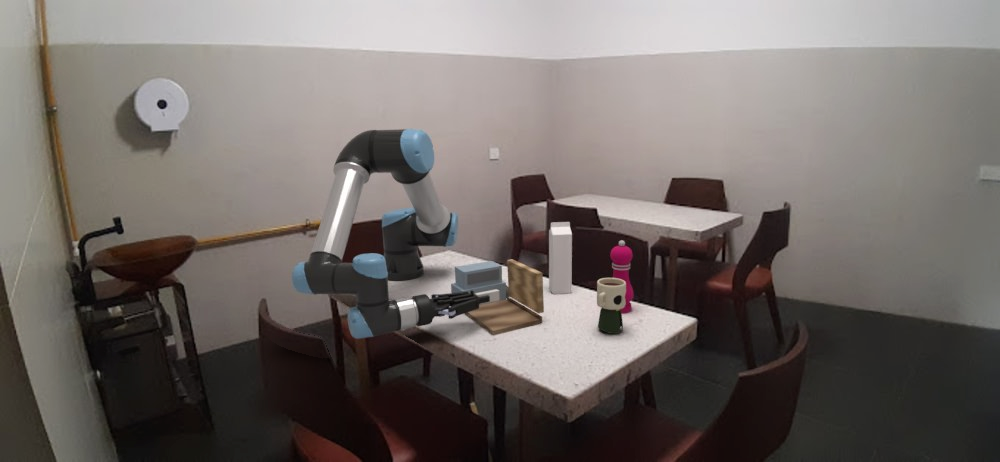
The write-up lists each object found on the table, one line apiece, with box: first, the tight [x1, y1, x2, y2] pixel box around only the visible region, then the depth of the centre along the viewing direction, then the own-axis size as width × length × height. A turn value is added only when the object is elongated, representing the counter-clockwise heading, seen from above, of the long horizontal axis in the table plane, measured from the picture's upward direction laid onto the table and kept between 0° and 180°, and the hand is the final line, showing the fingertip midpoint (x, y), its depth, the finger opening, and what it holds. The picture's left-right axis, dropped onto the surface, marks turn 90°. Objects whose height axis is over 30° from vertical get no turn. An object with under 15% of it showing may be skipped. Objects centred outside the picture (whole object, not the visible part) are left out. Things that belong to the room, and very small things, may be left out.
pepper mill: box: [609, 239, 634, 314], centre depth 143 cm, size 7×7×20 cm
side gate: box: [506, 258, 545, 314], centre depth 142 cm, size 16×2×11 cm, turn 29°
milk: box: [548, 221, 573, 295], centre depth 159 cm, size 6×6×22 cm
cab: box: [450, 260, 510, 305], centre depth 150 cm, size 8×19×12 cm, turn 119°
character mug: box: [596, 277, 626, 334], centre depth 129 cm, size 11×7×13 cm, turn 138°
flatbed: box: [464, 297, 543, 336], centre depth 140 cm, size 18×15×2 cm
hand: (497, 294), depth 137 cm, fingers closed
